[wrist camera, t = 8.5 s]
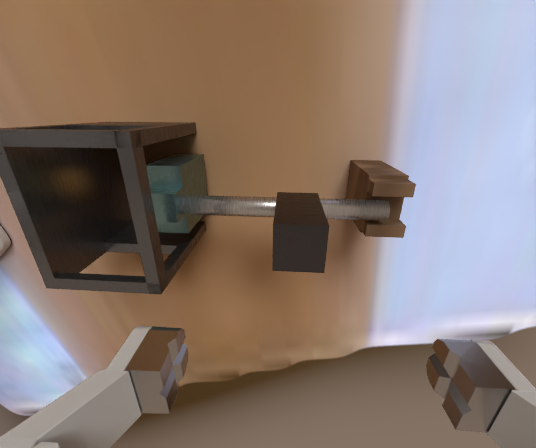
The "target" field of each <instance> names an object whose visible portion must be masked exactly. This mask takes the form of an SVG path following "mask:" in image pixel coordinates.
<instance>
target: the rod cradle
mask: <svg viewBox="0 0 536 448" xmlns="http://www.w3.org/2000/svg"><path fill="white" fill-rule="evenodd" d="M408 177H409V176H408V175H406V174H404V173H403V172H401V171H399V170H397V169H395V168H393V167H391V166H390V165H388V164H386V163H384V162H382V161H368V160H351V163H350V171H349V179H348V186H347V194H346V199H356V200H387V201H388V202H389V204H390V215H389V218H388V219H387V220H386V221H378V220H354V222H355V224H356V226H357V227H358V229H359V231H360V232H363V233H364V235H365V236H372V237H401V238H403V237H404V233H405V228H406V226H405V225H404V224H403V223H402V222H401V221H400V220H399V218H400V213H401V209H402V204H403V200H404V197H413V195H414V190H415V186H416V184H415V183H413V182H411V181H409V180H408Z"/></svg>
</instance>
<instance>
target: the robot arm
mask: <svg viewBox="0 0 536 448" xmlns="http://www.w3.org/2000/svg"><path fill="white" fill-rule="evenodd" d="M10 244H11V242H10V239H9V237H8V235H7V234H6V233H5V231H4V230H3V228H2V227H1V226H0V256H1V255H2V254H3V253H4V252H5V251H6V250H7V249H8V248H9V247H10ZM185 337H186V336H185V331H184V329H181V328H167V327H148V326H137V327H136V328H135V329H133V331H132V332H131V334H130V335H129V337H128V338H127V340H126V341H125V342H124V344H123V345H122V347H121V348H120V350H119V351H118V353H117V354H116V355H115V357H114V358H113V360H112V361H111V363H110V364H109V366H108V367H107V369H106V370H100V371H98V372H97V373H95V374H94V375H92V376H91V377H89V378H88V379H86V380H85V381H83V382H82V383H80V384H79V385H77V386H76V387H74V388H73V389H71V390H70V391H68V392H67V393H65V394H64V395H62V396H61V397H59V398H58V399H56V400H55V401H53V402H52V403H50V404H49V405H47V406H46V407H44V408H43V409H41V410H40V411H38V412H37V413H35V414H34V415H32V416H31V417H29V418H28V419H27V420H25V421H24V422H22V423H20V424H19V425H18V426H16V427H14V428H13V429H12V430H10V431H9V432H7V433H6V434H4V435H3V436H1V437H0V448H110V447H111V446H112V445H113V444H114V443H115V442H116V441H117V440H118V439H119V438H120V437H121V436H122V435H123V434H124V432H125V431H126V430H127V429H128V428H129V427H130V426H131V425H132V424H133V423H134V422H135V421H136V420H137V419H138V418H139V417H140V416H141V413H166V414H168V413H170V411H171V408H172V405H173V403H174V400H175V398H176V395H177V393H178V390H177V383H178V382H179V381H180V380H181V379H182V378H183V376H184V374H185V371H186V367H187V362H188V348H187V346H186V345H185V344H184V343H183V342H184V340H185ZM432 348H433V350H434V352H435V353H434V354H433V355H432V356H430V357H429V358H428V361H427V365H426V368H427V376H428V379H429V382H430V384H431V386H432V388H433V390H434V391H435V392H436V393H438V394H439V395H440V396H441V397H442V398H443V403H442V406H443V408H444V410H445V412H446V413H447V415H448V417H449V419H450V420H451V422H452V424H453V426H454V428H455V430H461V431H473V432H485V433H488V434H487V435H488V436H489V437H490V438H491V439H492V440H493V441H494V442H496V443H497V444H498V445H499V446H500V447H501V448H536V389H535V388H534V387H533V386H532V385H531V383H529V381H528V380H527V379H526V378H525V377H524V376H523V375H522V374H521V373H520V372H519V370H518V369H517V368H516V367H515V366H514V365H513V364H512V363H511V362H510V361H509V360H508V358H507V357H506V356H505V355H504V354H503V353H502V352H501V351H500V350H499V349H498V348H497V347H496V346H495V345H494V344H493V343H492V342H490V341H483V340H455V339H437V340H436V341H435V342H434V344H433V346H432Z"/></svg>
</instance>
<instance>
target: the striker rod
mask: <svg viewBox="0 0 536 448" xmlns="http://www.w3.org/2000/svg"><path fill="white" fill-rule="evenodd" d="M146 168H147V173H148V179H149V184H150V190H151V195H152V200H153V206H154V211H155V217H156V222H157V228H158V232H168V233H189V232H190V231H191V230H192V228H193V227H194V226H195V225H196V224H197V222H198V221H199V220H200V219H201V217H202V216H203V215H218V216H250V217H274V222H273V271H293V272H315V273H324V269H325V260H326V251H327V241H328V232H329V224H328V221H327V219H346V220H378V221H386V220H387V219H388V218H389V215H390V204H389V202H388V201H387V200H356V199H320V198H319V195H318V193H285V192H278V193H277V197H241V196H207V186H206V175H205V164H204V154H173V155H171V156H168V157H165V158H163V159H160V160H157V161H155V162H152V163H149V164H147V165H146Z"/></svg>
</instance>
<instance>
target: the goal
mask: <svg viewBox="0 0 536 448" xmlns="http://www.w3.org/2000/svg"><path fill="white" fill-rule="evenodd" d="M195 133H196V124H195V123H168V122H99V123H82V124H66V125H49V126H33V127H16V128H0V176H1V179H2V181H3V184H4V186H5V188H6V191H7V193H8V196H9V198H10V201H11V203H12V205H13V208H14V210H15V213H16V215H17V218H18V220H19V222H20V225H21V227H22V230H23V232H24V235H25V237H26V239H27V242H28V244H29V247H30V249H31V251H32V254H33V256H34V259H35V261H36V264H37V266H38V268H39V271H40V273H41V276H42V278H43V281H44V283H45V285H46V288H53V289H72V290H91V291H110V292H129V293H149V294H162V292H163V291H164V290H165V288H166V287H167V285H168V284H169V282H170V281H171V280H172V278H173V277H174V275H175V274H176V272H177V271H178V269H179V268H180V267H181V265H182V264H183V262H184V261H185V259H186V258H187V257H188V255H189V254H190V252H191V251H192V249H193V248H194V246H195V245H196V244H197V242H198V241H199V239H200V238H201V236H202V235H203V234H204V232H205V231H206V223H205V222H197V224H196V225H195V226H194V227H193V228H192V230H191V231H190V232H189V233H168V232H158V228H157V222H156V217H155V211H154V206H153V200H152V195H151V190H150V184H149V179H148V173H147V168H146V162H145V157H144V151H143V146H145V145H149V144H153V143H157V142H161V141H165V140H170V139H174V138H178V137H182V136H186V135H191V134H195ZM105 252H126V253H140V256H141V260H142V265H143V269H144V274H145V277H144V276H123V275H102V274H81V273H79V272H81V271H82V270H83V269H85V268H86V267H87V266H89V265H90V264H91V263H92V262H94V261H95V260H96V259H98V258H99V257H100V256H102V255H103V254H104V253H105ZM162 254H170V255H169V256H168V258H167V259H166V260H165V261H163V255H162Z"/></svg>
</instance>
